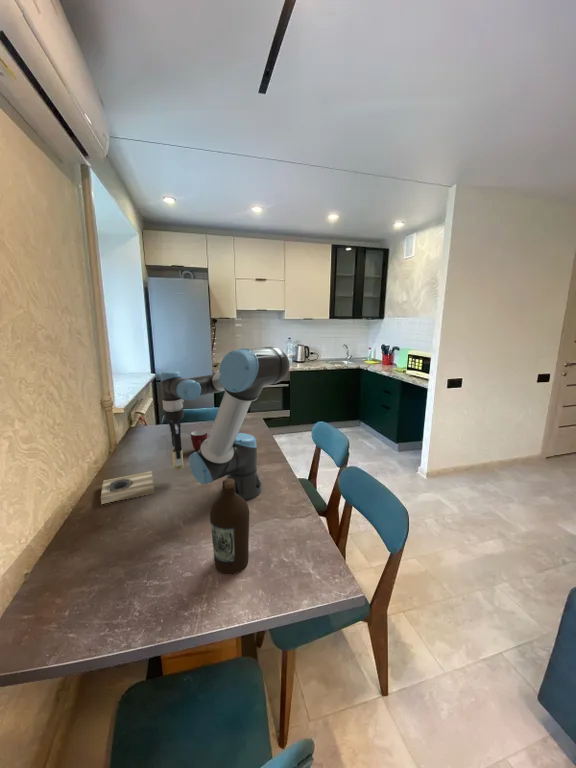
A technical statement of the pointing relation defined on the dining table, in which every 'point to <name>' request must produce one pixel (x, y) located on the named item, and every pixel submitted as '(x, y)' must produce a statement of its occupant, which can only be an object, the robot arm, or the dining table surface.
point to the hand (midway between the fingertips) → (178, 463)
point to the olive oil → (230, 530)
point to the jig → (127, 487)
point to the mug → (198, 438)
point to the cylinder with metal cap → (174, 461)
